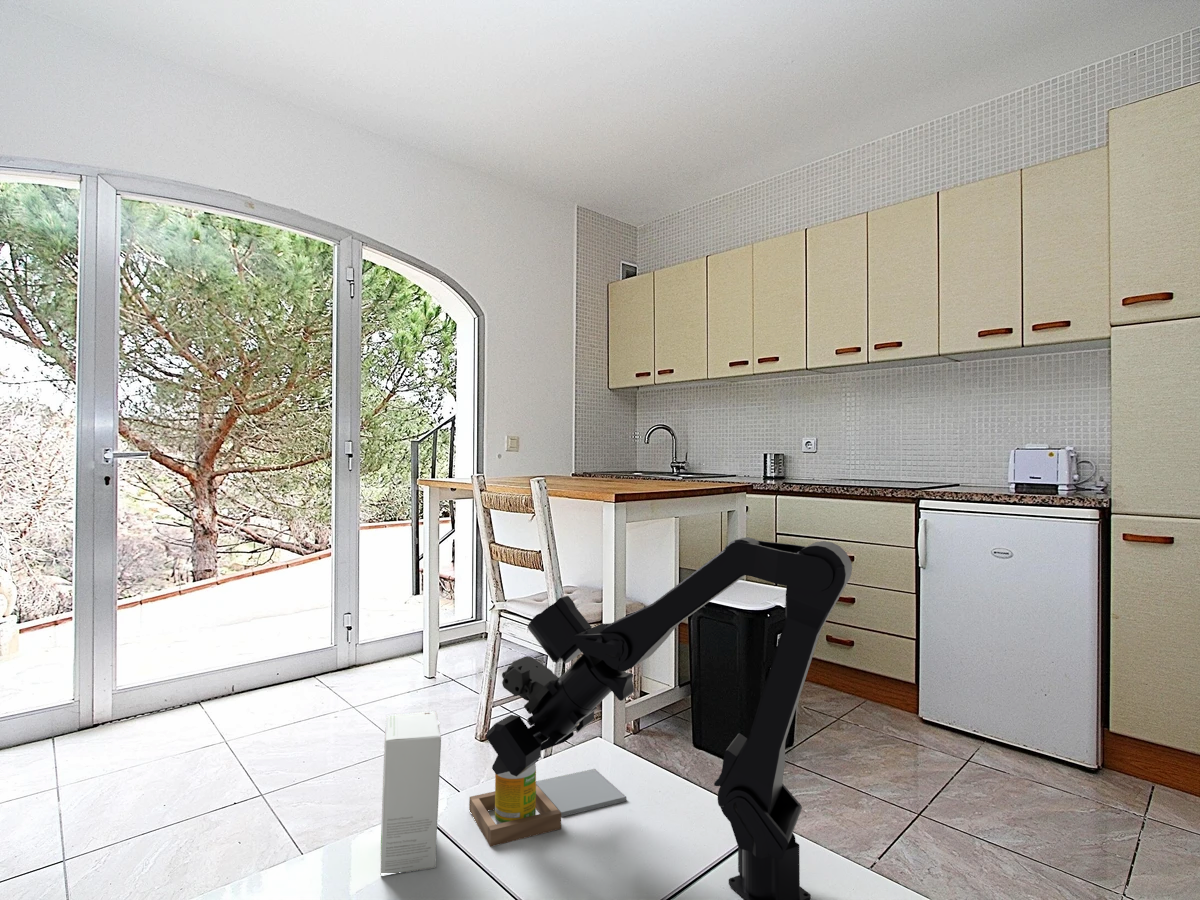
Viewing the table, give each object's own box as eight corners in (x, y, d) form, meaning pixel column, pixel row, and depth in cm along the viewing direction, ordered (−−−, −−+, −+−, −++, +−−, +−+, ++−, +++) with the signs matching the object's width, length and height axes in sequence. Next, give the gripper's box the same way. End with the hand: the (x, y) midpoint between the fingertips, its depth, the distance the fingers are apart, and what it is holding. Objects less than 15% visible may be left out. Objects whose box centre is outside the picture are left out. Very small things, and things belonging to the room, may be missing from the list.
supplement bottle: (528, 832, 84) (528, 754, 84) (488, 827, 85) (489, 751, 85) (540, 811, 89) (541, 738, 90) (503, 807, 90) (503, 735, 91)
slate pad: (626, 800, 92) (626, 796, 92) (561, 816, 88) (561, 812, 88) (594, 772, 101) (594, 768, 101) (534, 785, 97) (534, 781, 97)
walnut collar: (561, 828, 85) (561, 813, 85) (490, 846, 81) (490, 830, 81) (534, 797, 93) (534, 782, 93) (469, 811, 89) (469, 796, 89)
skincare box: (381, 840, 82) (384, 713, 83) (435, 832, 84) (437, 709, 85) (379, 879, 74) (382, 739, 75) (439, 869, 76) (442, 732, 77)
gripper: (575, 626, 95) (511, 693, 99) (500, 657, 78) (427, 736, 82) (625, 689, 91) (556, 756, 95) (557, 736, 74) (477, 814, 78)
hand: (507, 762), depth 88 cm, fingers closed on supplement bottle, 5 cm apart
